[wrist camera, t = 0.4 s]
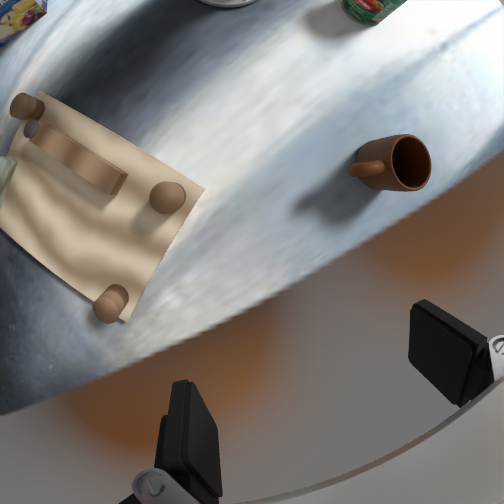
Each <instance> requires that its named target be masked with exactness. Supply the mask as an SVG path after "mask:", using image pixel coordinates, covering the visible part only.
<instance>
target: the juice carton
mask: <svg viewBox="0 0 504 504" xmlns="http://www.w3.org/2000/svg"><path fill="white" fill-rule="evenodd" d="M46 13H47V0H0V46H1V47H2V46H3V45H5V44H6V43H7V42H8V41H9V40H11V39H12V38H13V37H14V36H16V35H17V34H18V33H19V32H21V31H22V30H23V29H25V28H26V27H27V26H29V25H30V24H32V23H33V22H34V21H36V20H37V19H39V18H40V17H42V16H43V15H45V14H46Z"/></svg>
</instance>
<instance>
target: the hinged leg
mask: <svg viewBox="0 0 504 504" xmlns="http://www.w3.org/2000/svg"><path fill="white" fill-rule="evenodd" d="M23 134H24V136H25V137H26V138H29V139H30V140H29V141H31V142H32V143H33V144H35V145H36V146H38V147H39V148H40V149H42V150H43V151H45V152H46V153H48V154H49V155H50V156H52V157H53V158H55V159H56V160H58V161H59V162H61V163H62V164H64V165H65V166H66V167H68V168H69V169H71V170H72V171H74V172H75V173H77V174H78V175H80V176H81V177H83V178H84V179H86V180H87V181H89V182H90V183H92V184H93V185H95V186H96V187H98V188H99V189H101V190H102V191H104V192H105V193H107V194H108V195H116V194H118V192H119V190H120V189H121V187H122V185H123V183H124V182H125V180H126V178H127V176H128V175H129V174H128V173H126V172H125V171H123V170H121V169H120V168H118V167H117V166H115V165H114V164H112V163H110V162H109V161H107V160H106V159H104V158H102V157H101V156H99V155H98V154H96V153H95V152H93V151H91V150H90V149H88V148H87V147H85V146H83V145H82V144H80V143H79V142H77V141H75V140H74V139H72V138H71V137H69V136H68V135H66V134H64V133H63V132H61V131H60V130H58V129H56V128H55V127H53V126H52V125H50V124H47V123H44V122H41V121H36V120H29V121H28V122H27V123H26V125H25V127H24V130H23Z"/></svg>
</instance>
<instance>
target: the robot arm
mask: <svg viewBox="0 0 504 504" xmlns="http://www.w3.org/2000/svg"><path fill="white" fill-rule="evenodd" d="M199 1H201V2H203V3H205V4H208V5H212V6H217V7H239V6H244V5H248V4H251V3H253V2H255V1H257V0H199ZM408 358H409V361H410V363H411V364H412V365H413V366H414V367H415V368H416V369H418V371H419V372H420V373H422V374H423V376H424V377H426V378H427V379H428V380H429V381H430V382H431V383H432V384H433V385H434V386H435V387H436V388H437V389H438V390H439V391H440V392H441V393H442V394H443V395H444V396H445V397H446V398H447V399H448V400H449V401H450V402H451V403H452V404H454V405H455V404H456V405H458V407H460V408H461V407H462V408H461V409H460V410H458V411H457V412H456V413H455V414H453V415H452V416H450V417H449V418H447V419H446V420H444V421H443V422H441V423H440V424H438V425H437V426H435V427H434V428H432V429H431V430H429V431H427V432H426V433H424V434H423V435H421V436H419V437H418V438H416V439H414V440H412V441H411V442H409V443H407V444H405V445H404V446H402V447H400V448H398V449H396V450H395V451H392V452H390V453H388V454H386V455H384V456H383V457H381V458H378V459H376V460H374V461H372V462H370V463H368V464H365V465H363V466H361V467H358V468H356V469H354V470H351V471H349V472H347V473H344V474H342V475H339V476H336V477H333V478H331V479H328V480H325V481H323V482H320V483H316V484H313V485H310V486H307V487H303V488H300V489H297V490H293V491H289V492H286V493H282V494H278V495H274V496H270V497H266V498H261V499H257V500H252V501H247V502H241V503H236V504H504V335H500V336H496V337H494V338H493V339H492V340H491V341H490V343H489V344H488V343H487V337H485V336H484V335H482V334H481V333H479V332H478V331H476V330H474V329H473V328H471V327H470V326H468V325H466V324H465V323H463V322H462V321H460V320H458V319H457V318H455V317H454V316H452V315H451V314H449V313H447V312H446V311H444V310H442V309H441V308H439V307H437V306H435V305H434V304H432V303H431V302H429V301H427V300H425V299H424V300H421V301H419V302H417V303H415V304H413V306H412V309H411V310H410V334H409V353H408ZM469 400H471V401H470V402H469ZM468 402H469V403H468ZM467 403H468V404H467ZM465 404H467V405H465ZM464 405H465V406H464ZM463 406H464V407H463ZM132 491H133V492H134V493H133V494H132V495H130V496H129V497H127V498H126V499H125V500H123V501H122V502H120V503H119V504H219V500H218V497H222V481H221V469H220V457H219V441H218V429H217V426H216V423H215V422H214V420H213V418H212V416H211V414H210V412H209V411H208V409H207V407H206V405H205V403H204V401H203V399H202V397H201V395H200V393H199V391H198V390H197V388H196V385H195V384H194V382H189V381H188V380H187V379H186V380H181V381H176V382H173V385H172V391H171V397H170V403H169V410H168V415H164V416H163V417H162V419H161V424H160V430H159V437H158V443H157V451H156V458H155V464H154V468H150V469H146V470H143V471H141V472H140V473H139V474H137V475H136V477H135V478H134V480H133V482H132Z"/></svg>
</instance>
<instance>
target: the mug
mask: <svg viewBox="0 0 504 504" xmlns="http://www.w3.org/2000/svg"><path fill="white" fill-rule="evenodd" d="M348 173H349V174H350V175H351V176H353V177H360V178H361V179H362V181H363V182H364V183H365V184H366V185H368V186H369V187H371V188H374V189H379V190H391V191H405V192H407V191H417V190H420V189H421V188H423V187H424V186H425V185H426V183H427V182H428V180H429V178H430V174H431V159H430V155H429V152H428V150H427V148H426V146H425V145H424V144H423V142H422V141H421V140H420V139H418V138H417V137H415V136H413V135H409V134H403V135H394V136H390V137H385V138H381V139H377V140H373V141H370V142H367V143H366V144H364V145H363V146H362V147H361V148H360V150H359V152H358V154H357V158H356V163H354V164H351V165H350V166H349V168H348Z"/></svg>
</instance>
